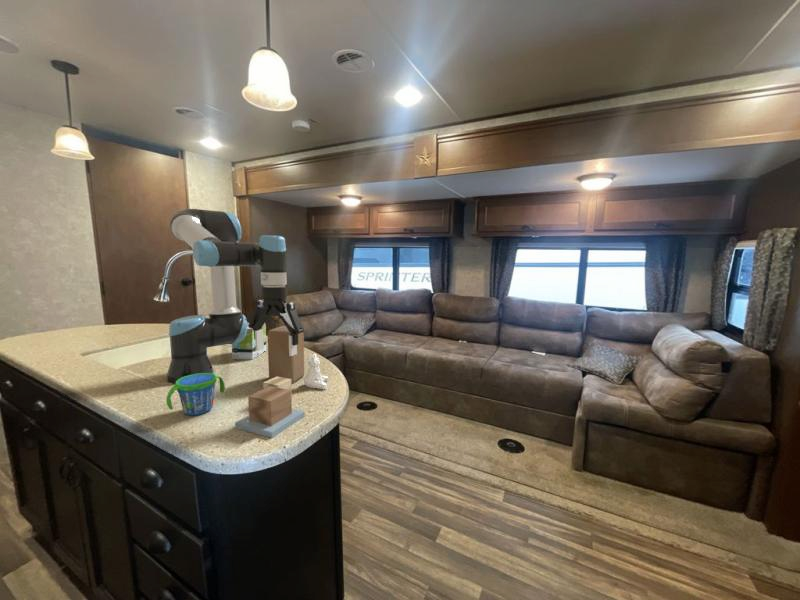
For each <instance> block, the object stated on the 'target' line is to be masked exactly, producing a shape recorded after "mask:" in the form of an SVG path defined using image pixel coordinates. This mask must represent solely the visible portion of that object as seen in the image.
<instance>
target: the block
mask: <svg viewBox="0 0 800 600" xmlns="http://www.w3.org/2000/svg"><path fill="white" fill-rule="evenodd" d="M290 334H291V333H290V332H289V330H288V329H287V327H286V326H285V325H280V326H278V327H274V328H272V329H269V330H267V332H266V336H267V356H268V357H267V358H268V361H267V363H268V380H270V379H272V378H275V377H282V378H288V379H291V385H293V384H294V383H295V382H297V381H298V380H300V379H301V378H303V377H305V344H304V343H305V342H304V341H305V338H304V336H305V335H304V332H302V333H299V334H298V344H297V354H296V355H293V356H289V335H290Z"/></svg>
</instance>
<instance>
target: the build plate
mask: <svg viewBox="0 0 800 600" xmlns="http://www.w3.org/2000/svg"><path fill="white" fill-rule="evenodd" d="M305 415H306V414H305V411H304V410H299V409H296V408H292V414H290V415H289V416H287V417H285V418H284V419H282V420H281V421H279V422H277V423H276V424H274V425H273V426H269V425H266V424H262V423H258V422H254V421H250V420H249V414H247V416H245V417H243V418H241V419H239V420H236V422H234V427H235V429H239V430H241V431H245V432H250V433H253V434H256V435H257V434H258V435H260V436H265V437H268V438H272V439H273V438H274V437H276V436H277V435H279V434H280V433H282V432H284V431H285V430H286V429H288V428H289V427H290V426H291V427H292V425H294V424H296V423H297V422H298V421H300V420H302V419H303V418H304V417H305Z"/></svg>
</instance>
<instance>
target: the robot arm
mask: <svg viewBox="0 0 800 600" xmlns="http://www.w3.org/2000/svg"><path fill="white" fill-rule="evenodd" d="M169 228H170V231H171V233H172V235H174V236H175V237H176V238H177V239H179V240H180V241H182V242H185V243H186V244H187V245H188V246H190V247H191V248H192V256H193V257H192V258H193V259H194V262H195V264H196V265H197V266H199V267H209V270H210V281H211V284H210V285H211V295H212V296H211V298H212V309H211V311H209V312H208V314H209V315H208V316H209V317H208V318H207V317H205V315H203V314H197V315H188V316H183V317H179V318H176V319H174V320H172V321H171V322H170V324H169V329H168V330H169V331H168V336H169V343H170V344H169V345H170V363H169V367H168V371H167V373H166V380H167V382H169V383H172V384H176V381H177V380H178V379H180V378H182V377H185V376H188V375H192V374H198V373H212V374H214V368H213V366H212V363H211V361H210V359H209V356H208V353H207V352H208V351H207V348H213V347H217V346H218V347H219V346H224V345H232V344H233V343H237V342H240V341H242V340H243V339H244V338H245V336H246V333H247V323H249V325H248V327H249V328H252V329H253V330H254V339H255V343H256V351H259V350H262V349H264V337H263V330H262V326H263V325H264V323H266V322H267V321H268V319H269V317H271V316H274V317H277V318H279V319H280V320H281V321H282V323H283V324H284V326H286V327H287V329H288V330H289V332H290V333H291V334H290V335H289V356H293V355H296V354H297V344H298V334H299V333H302V332H303V333H304V332H305V329H304V327H303V325H302V322H301V319H300V317H299V315H298V312H297V309H296V303H295V302H293V301H291V302H287V301H286V299H287V297H288V288H287V286H286V285H287V283H288V281H287V280H288V279H287V278H288V277H287V247H286V239H285V237H284V236H281V235H268V234H267V235H260V236H259V242H244V241H243V242H242V241H241V239H242V234H243V233H242V226H241V222H240V221H239V219H238V217H237V216H236V215H235V214H233V212H232V213H231V212H225V211H218V210H208V209H200V208H185V209H182V210H180V211H178V212H176V213H174V214H173V215H172V216H171V218H170V220H169ZM235 267H260V271H259V272H260V284H261V286H262V287H260V293H261V294H260V295H261V299H257V300H255V301H254V309H253V311H252V314H251V317H250V320H249V322H248V321H247V317H246V316H245V315H244V314H242V311H241V310H240V308H238V306H237V296H236V295H237V293H236V279H235ZM260 329H261V330H260Z"/></svg>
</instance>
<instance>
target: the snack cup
mask: <svg viewBox="0 0 800 600" xmlns="http://www.w3.org/2000/svg"><path fill="white" fill-rule="evenodd" d="M217 379H218V380H219V392H220V393H224V392H225V391H226V385H225V381H224V379H223V378H222V377H221V376H219V375H216V374H215V373H213V374H212V373H198V374H192V375H188V376H185V377H182V378H180V379H178V380H177V381H176V383H174V385H173V386H172V387H170V389H169V391H168V394H167V395H166V405H167V407H168V409H169V410H174V407H173V404H172V399H171V398H172V395H173V394H174V393H175V392H176V391H177V392H178V396H179V398H180V403H181V404H180V405H181V407H182V411H183V413H184V415H187V416H199V415H203V414H205V413H208V412H211V411H212V409H213V407H214V401H215V390H216V389H215V388H216V382H217Z"/></svg>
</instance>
